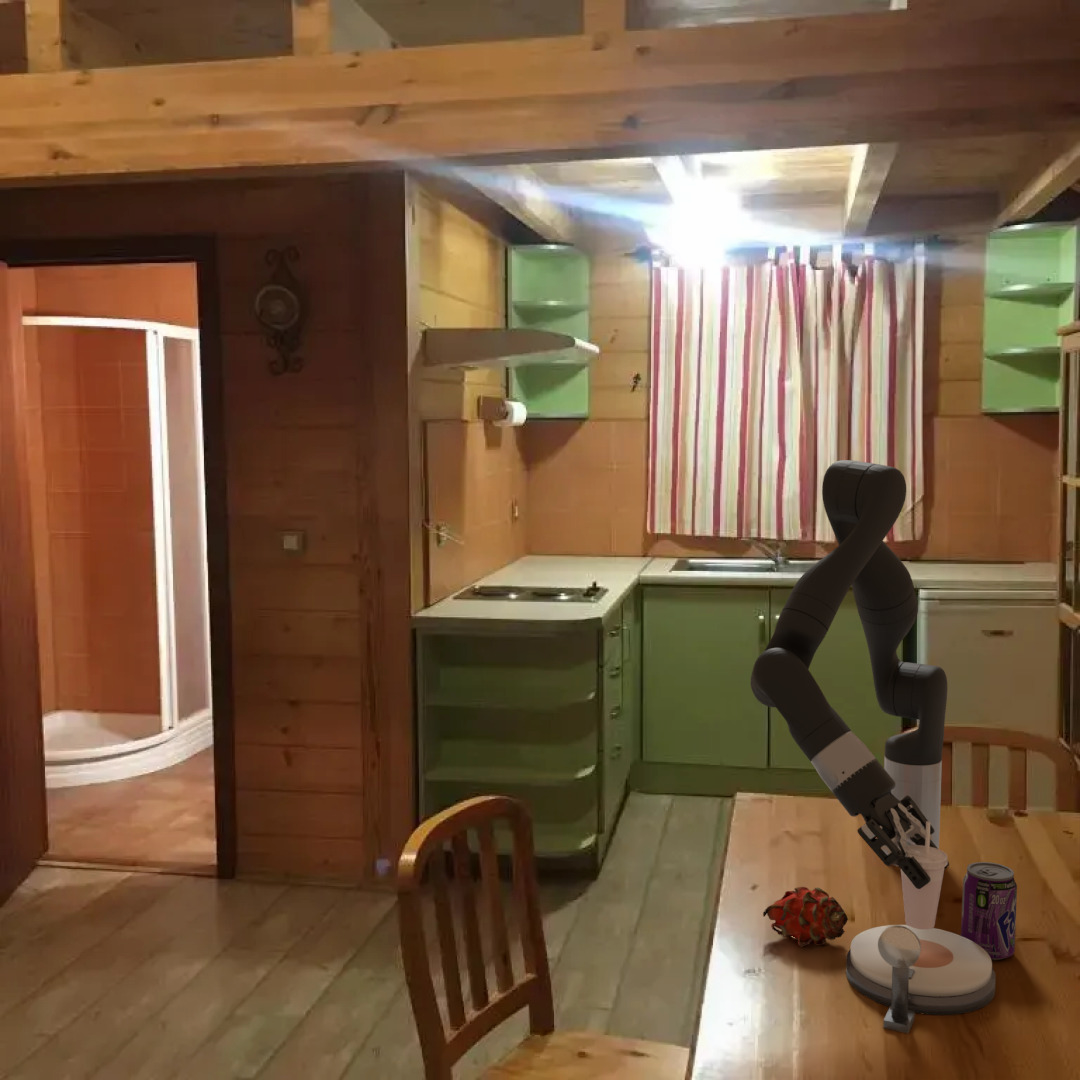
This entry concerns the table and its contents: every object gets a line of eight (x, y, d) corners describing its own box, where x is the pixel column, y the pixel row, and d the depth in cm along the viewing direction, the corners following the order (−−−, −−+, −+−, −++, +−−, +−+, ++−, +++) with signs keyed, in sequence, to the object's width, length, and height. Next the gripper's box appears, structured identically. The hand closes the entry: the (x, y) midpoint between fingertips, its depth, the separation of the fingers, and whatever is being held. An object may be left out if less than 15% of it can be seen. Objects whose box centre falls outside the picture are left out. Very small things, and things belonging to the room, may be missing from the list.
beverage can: (988, 968, 168) (992, 883, 167) (949, 947, 174) (952, 866, 173) (1025, 957, 171) (1029, 874, 170) (985, 937, 178) (988, 857, 176)
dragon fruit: (853, 961, 174) (768, 960, 178) (854, 908, 180) (773, 908, 184) (842, 928, 169) (755, 927, 173) (844, 874, 175) (760, 875, 179)
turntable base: (864, 938, 178) (864, 925, 177) (1004, 965, 169) (1004, 951, 169) (830, 994, 161) (830, 980, 161) (983, 1028, 152) (984, 1012, 152)
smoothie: (948, 935, 160) (952, 831, 159) (896, 931, 162) (900, 828, 160) (942, 915, 167) (946, 815, 165) (892, 911, 168) (896, 812, 166)
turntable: (867, 925, 177) (867, 913, 177) (1000, 951, 168) (1000, 938, 168) (835, 977, 161) (835, 964, 161) (980, 1008, 153) (981, 994, 152)
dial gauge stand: (884, 1008, 157) (886, 910, 156) (924, 1017, 155) (927, 917, 153) (875, 1025, 153) (877, 925, 151) (916, 1035, 151) (919, 933, 149)
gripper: (849, 770, 160) (936, 879, 155) (892, 746, 172) (974, 846, 166) (810, 801, 164) (893, 909, 158) (854, 775, 176) (933, 875, 170)
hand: (934, 876), depth 162 cm, fingers closed on smoothie, 6 cm apart
